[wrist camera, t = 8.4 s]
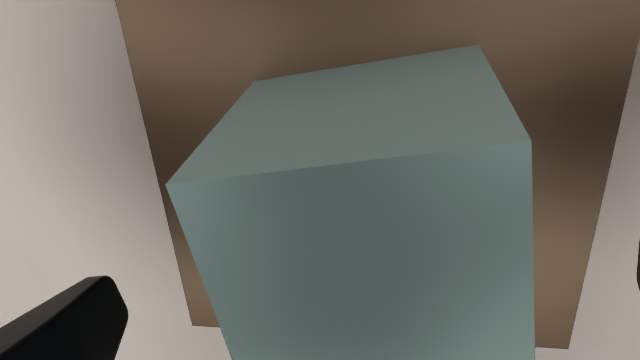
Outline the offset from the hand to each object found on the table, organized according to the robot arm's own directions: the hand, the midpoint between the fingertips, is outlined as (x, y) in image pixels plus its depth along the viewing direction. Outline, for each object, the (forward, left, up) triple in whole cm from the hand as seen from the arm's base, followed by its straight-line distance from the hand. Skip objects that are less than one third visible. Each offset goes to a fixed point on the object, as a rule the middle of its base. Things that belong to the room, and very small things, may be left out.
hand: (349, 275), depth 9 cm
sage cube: (0, 0, -4) cm, 4 cm away
